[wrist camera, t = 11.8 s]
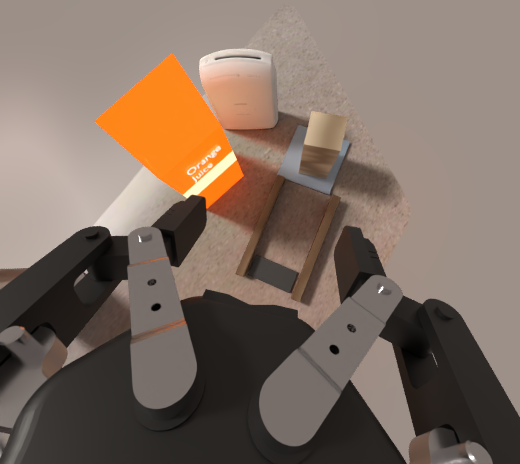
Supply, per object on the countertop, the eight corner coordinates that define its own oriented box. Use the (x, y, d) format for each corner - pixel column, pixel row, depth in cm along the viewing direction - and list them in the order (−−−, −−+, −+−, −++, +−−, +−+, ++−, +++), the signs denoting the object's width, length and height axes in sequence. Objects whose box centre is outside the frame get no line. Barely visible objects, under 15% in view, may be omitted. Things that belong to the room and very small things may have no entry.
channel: (237, 273, 35) (235, 273, 34) (278, 178, 37) (277, 174, 35) (298, 300, 34) (299, 302, 32) (338, 200, 35) (340, 197, 34)
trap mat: (248, 274, 35) (248, 274, 35) (256, 254, 35) (256, 254, 35) (289, 292, 34) (289, 293, 34) (297, 272, 34) (297, 272, 34)
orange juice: (178, 178, 39) (68, 92, 19) (215, 145, 39) (146, 24, 19) (205, 211, 37) (120, 154, 18) (244, 176, 37) (203, 81, 18)
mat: (276, 176, 37) (276, 175, 36) (298, 126, 38) (298, 124, 37) (328, 195, 36) (329, 194, 35) (349, 142, 36) (350, 141, 36)
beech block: (298, 172, 36) (303, 144, 27) (304, 147, 37) (311, 111, 28) (325, 178, 36) (340, 150, 27) (331, 152, 36) (348, 117, 27)
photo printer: (219, 131, 39) (190, 72, 27) (221, 109, 39) (194, 41, 27) (277, 131, 38) (275, 69, 26) (278, 108, 38) (277, 37, 26)
